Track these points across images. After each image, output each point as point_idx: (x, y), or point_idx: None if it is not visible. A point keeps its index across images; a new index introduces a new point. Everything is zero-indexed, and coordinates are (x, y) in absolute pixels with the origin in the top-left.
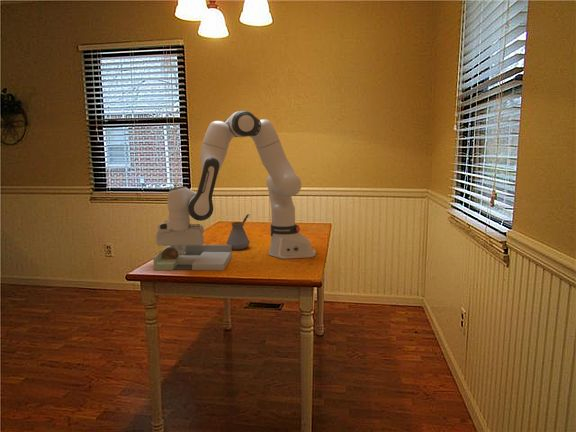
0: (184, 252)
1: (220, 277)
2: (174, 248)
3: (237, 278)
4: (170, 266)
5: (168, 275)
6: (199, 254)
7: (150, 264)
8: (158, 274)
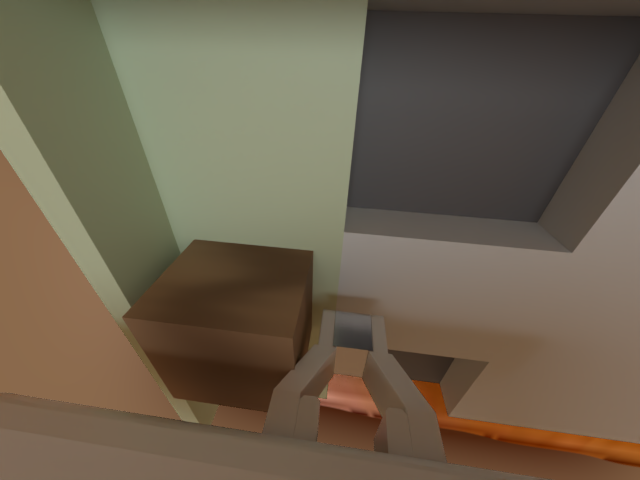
0: (347, 74)
1: (562, 448)
2: (258, 371)
3: (636, 465)
4: None
5: (328, 404)
6: (611, 11)
7: None
8: None
